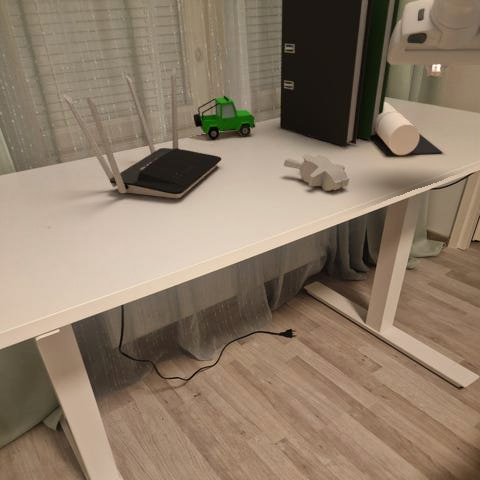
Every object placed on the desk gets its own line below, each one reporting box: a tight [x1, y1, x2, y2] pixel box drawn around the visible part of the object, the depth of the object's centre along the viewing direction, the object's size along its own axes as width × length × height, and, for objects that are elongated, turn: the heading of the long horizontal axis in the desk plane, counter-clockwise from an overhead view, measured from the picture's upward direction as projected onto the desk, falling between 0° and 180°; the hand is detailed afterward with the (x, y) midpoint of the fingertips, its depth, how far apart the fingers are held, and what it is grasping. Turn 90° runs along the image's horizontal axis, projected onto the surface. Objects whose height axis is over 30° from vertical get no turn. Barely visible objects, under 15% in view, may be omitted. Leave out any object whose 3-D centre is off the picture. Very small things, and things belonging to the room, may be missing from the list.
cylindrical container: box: [375, 101, 421, 156], centre depth 113 cm, size 7×7×25 cm
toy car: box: [193, 95, 256, 141], centre depth 123 cm, size 8×17×10 cm, turn 104°
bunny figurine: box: [283, 153, 350, 192], centre depth 93 cm, size 10×5×15 cm
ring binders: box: [279, 0, 400, 147], centre depth 114 cm, size 27×15×32 cm, turn 34°
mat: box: [370, 133, 443, 157], centre depth 115 cm, size 14×22×1 cm, turn 1°
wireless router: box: [62, 67, 222, 199], centre depth 93 cm, size 34×23×20 cm
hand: (433, 73), depth 88 cm, fingers closed
